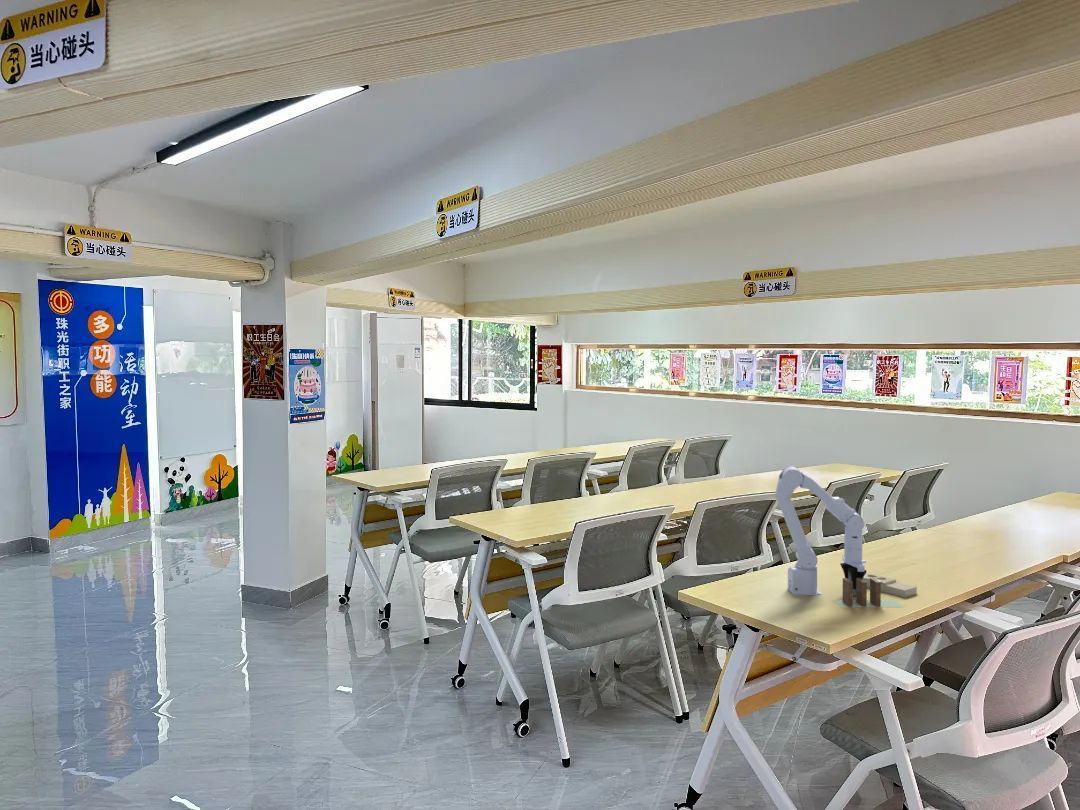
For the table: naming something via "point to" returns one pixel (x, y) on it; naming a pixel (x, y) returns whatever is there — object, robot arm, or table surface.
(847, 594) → the walnut domino
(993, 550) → the table surface
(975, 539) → the table surface
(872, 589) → the walnut domino
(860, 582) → the walnut domino
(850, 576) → the charcoal end domino
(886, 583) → the electrical outlet
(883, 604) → the sage mat
